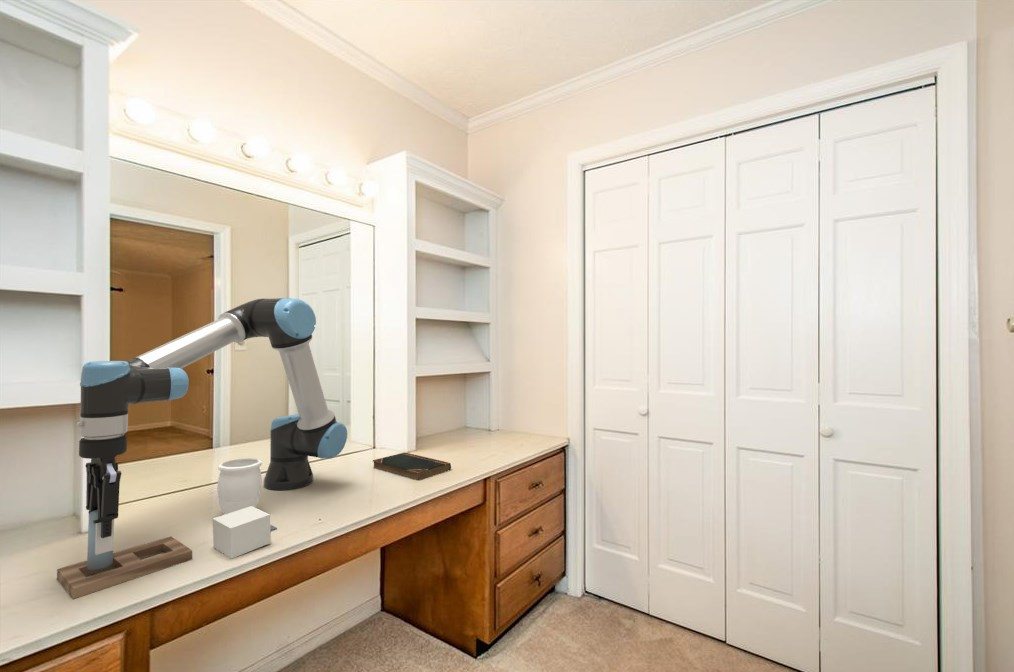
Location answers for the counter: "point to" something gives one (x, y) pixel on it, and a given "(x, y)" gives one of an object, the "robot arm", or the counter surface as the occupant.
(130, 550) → the socket board
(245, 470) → the jar
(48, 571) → the counter surface
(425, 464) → the book
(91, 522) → the peg
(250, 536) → the cover
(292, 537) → the counter surface
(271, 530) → the tile
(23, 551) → the counter surface
